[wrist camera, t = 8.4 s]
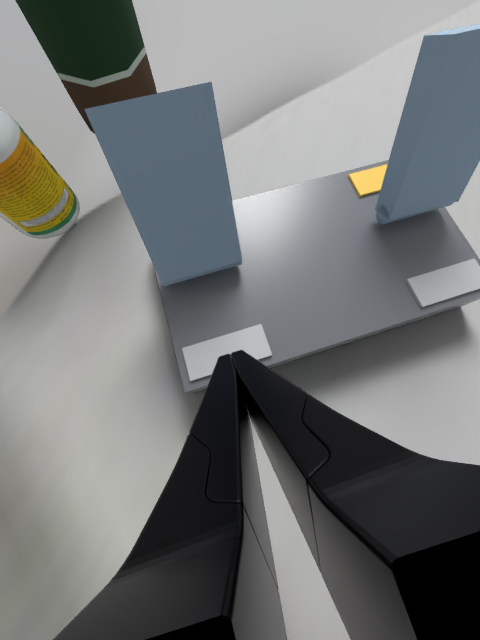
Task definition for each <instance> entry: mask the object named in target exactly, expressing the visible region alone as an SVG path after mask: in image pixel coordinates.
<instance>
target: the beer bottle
mask: <svg viewBox="0 0 480 640" xmlns="http://www.w3.org/2000/svg"><path fill="white" fill-rule="evenodd" d="M16 2H17V3H18V5H19V7H20V9H21V11H22V13H23V14H24V16H25V18H26V20H27V21H28V23H29V25H30V27H31V28H32V30H33V32H34V34H35V35H36V37H37V39H38V41H39V43H40V44H41V46H42V48H43V50H44V51H45V53H46V55H47V57H48V58H49V60H50V62H51V64H52V65H53V67H54V69H55V70H56V72H57V74H58V76H59V78H60V79H61V81H62V83H63V85H64V87H65V88H66V90H67V92H68V94H69V95H70V97H71V99H72V100H73V102H74V104H75V106H76V108H77V109H78V111H79V113H80V114H81V116H82V118H83V119H84V121H85V122H86V124H87V125H88V127H89V129H90V130H91V131H92V132H93V133H94V134H95V132H94V130H93V128H92V125H91V123H90V121H89V119H88V116H87V114H86V112H85V110H84V109H87V108H92V107H96V106H101V105H106V104H110V103H115V102H120V101H124V100H129V99H134V98H138V97H143V96H148V95H152V94H157V92H156V87H155V83H154V80H153V76H152V72H151V69H150V65H149V61H148V58H147V54H146V50H145V47H144V43H143V39H142V36H141V32H140V29H139V25H138V21H137V18H136V14H135V10H134V7H133V4H132V0H16Z"/></svg>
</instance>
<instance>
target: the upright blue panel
mask: <svg viewBox="0 0 480 640" xmlns="http://www.w3.org/2000/svg"><path fill="white" fill-rule="evenodd" d="M479 161H480V24H476V25H471V26H466V27H462V28H457V29H452V30H448V31H443V32H438V33H434V34H429V35H424V38H423V41H422V45H421V49H420V52H419V56H418V59H417V63H416V66H415V70H414V73H413V77H412V80H411V84H410V87H409V91H408V94H407V98H406V102H405V105H404V109H403V112H402V116H401V119H400V123H399V126H398V130H397V133H396V137H395V140H394V144H393V147H392V151H391V154H390V158H389V162H388V165H387V169H386V172H385V176H384V179H383V183H382V186H381V190H380V193H379V197H378V200H377V204H376V207H375V210H376V211H377V212H376V218H377V221H378V222H379V223H380V224H386V223H390V222H393V221H397V220H400V219H404V218H407V217H411V216H414V215H418V214H421V213H425V212H429V211H432V210H436V209H439V208H443V207H446V206H450V205H452V204H453V203H454V202H457V201H459V199H460V197H461V195H462V193H463V191H464V189H465V187H466V186H467V184H468V182H469V180H470V178H471V176H472V174H473V172H474V170H475V168H476V166H477V165H478V163H479Z"/></svg>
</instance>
